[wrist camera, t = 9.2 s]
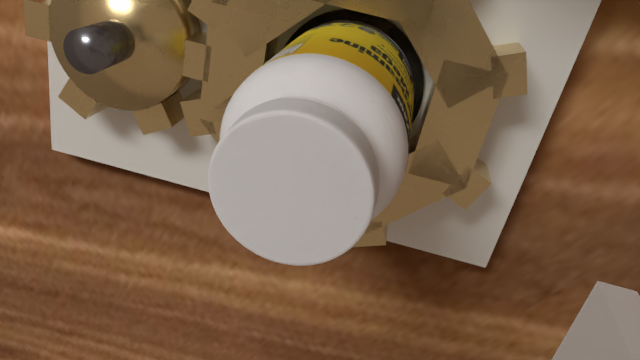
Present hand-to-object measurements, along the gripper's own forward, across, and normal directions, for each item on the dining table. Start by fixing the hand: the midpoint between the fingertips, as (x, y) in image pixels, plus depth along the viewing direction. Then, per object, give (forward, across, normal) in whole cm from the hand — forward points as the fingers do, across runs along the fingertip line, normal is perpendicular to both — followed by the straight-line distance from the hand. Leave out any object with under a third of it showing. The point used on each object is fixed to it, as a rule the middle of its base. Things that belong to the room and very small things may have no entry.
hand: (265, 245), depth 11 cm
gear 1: (+14, -10, -1) cm, 18 cm away
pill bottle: (+14, 0, -1) cm, 14 cm away
